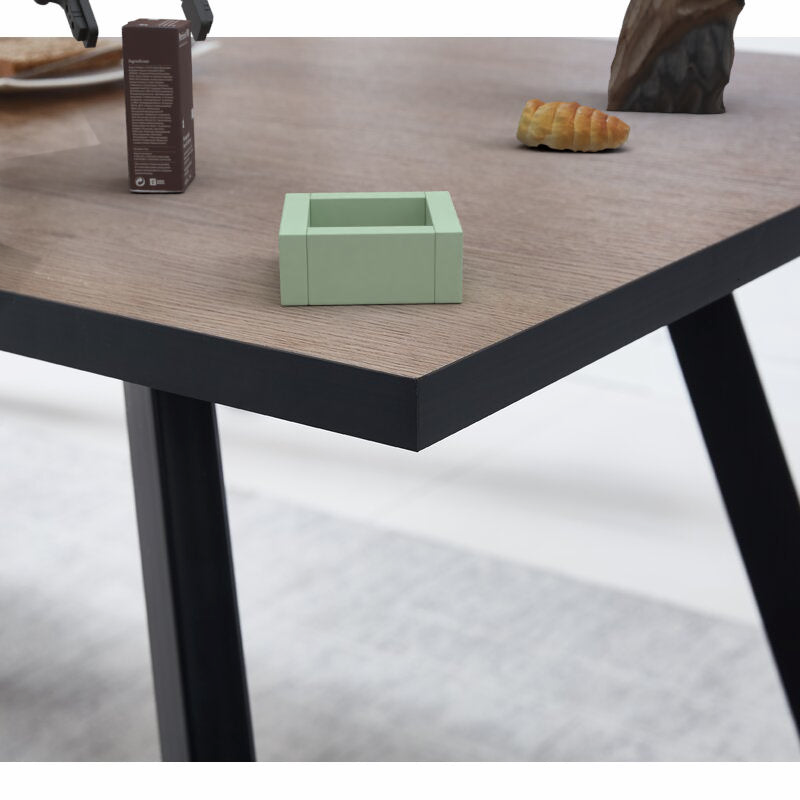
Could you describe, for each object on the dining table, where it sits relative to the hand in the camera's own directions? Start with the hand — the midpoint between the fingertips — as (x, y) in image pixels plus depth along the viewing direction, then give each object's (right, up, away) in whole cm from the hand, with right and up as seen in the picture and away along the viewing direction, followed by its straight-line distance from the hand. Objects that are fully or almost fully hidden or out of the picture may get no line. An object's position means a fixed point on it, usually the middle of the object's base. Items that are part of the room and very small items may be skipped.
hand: (149, 37), depth 97 cm
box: (+1, -11, +3) cm, 11 cm away
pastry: (+33, -5, +17) cm, 38 cm away
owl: (+45, +3, +37) cm, 59 cm away
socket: (+17, -20, -21) cm, 33 cm away
